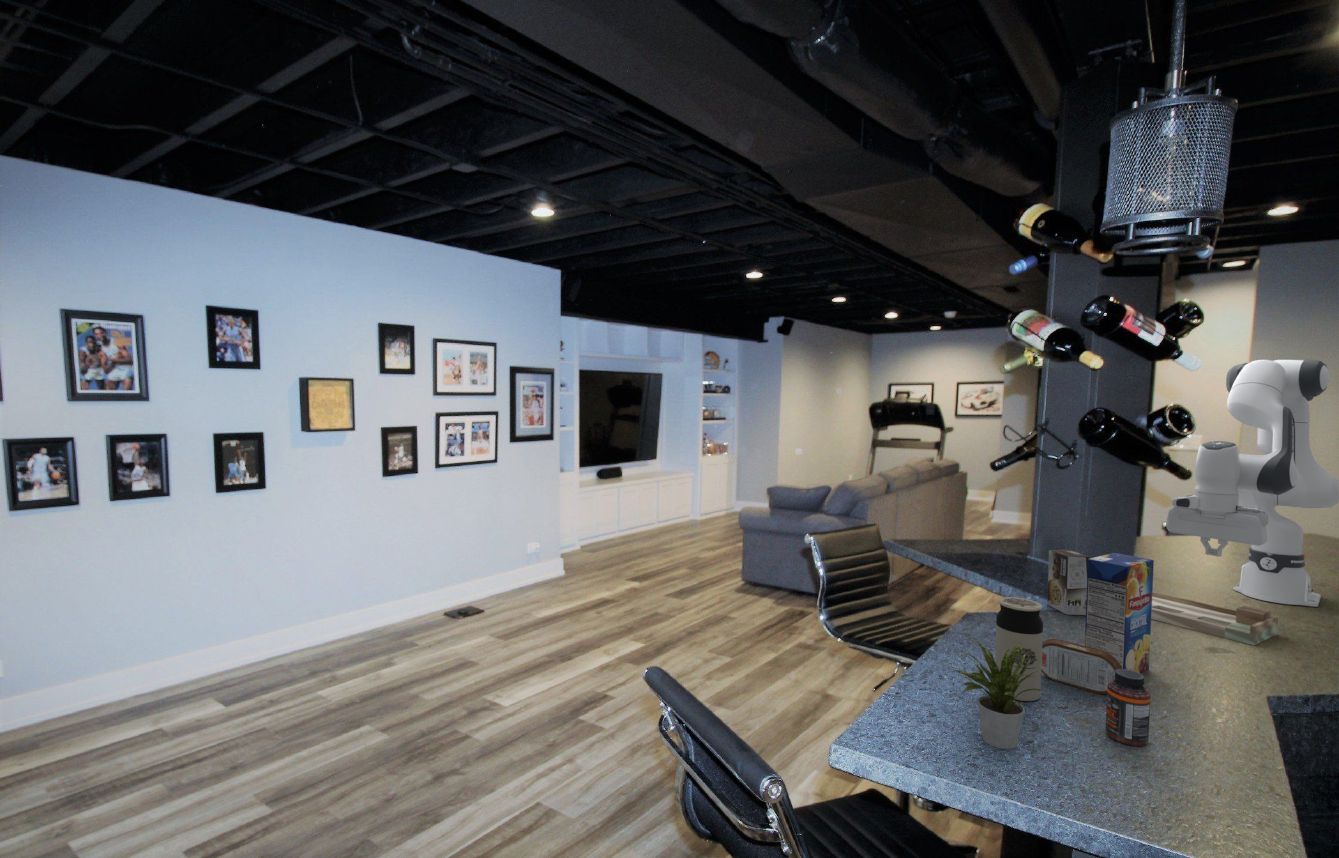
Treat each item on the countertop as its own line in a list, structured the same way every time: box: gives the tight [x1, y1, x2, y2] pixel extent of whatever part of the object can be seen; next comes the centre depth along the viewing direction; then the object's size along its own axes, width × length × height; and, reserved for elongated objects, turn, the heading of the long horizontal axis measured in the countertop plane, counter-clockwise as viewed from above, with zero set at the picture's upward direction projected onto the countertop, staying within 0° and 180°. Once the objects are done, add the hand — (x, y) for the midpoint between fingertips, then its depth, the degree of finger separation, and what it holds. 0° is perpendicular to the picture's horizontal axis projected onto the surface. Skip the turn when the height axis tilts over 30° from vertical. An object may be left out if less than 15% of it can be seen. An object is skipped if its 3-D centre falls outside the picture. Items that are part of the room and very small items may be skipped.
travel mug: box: [994, 596, 1044, 702], centre depth 122 cm, size 8×8×18 cm
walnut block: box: [1235, 605, 1271, 626], centre depth 157 cm, size 5×5×4 cm
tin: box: [1041, 638, 1122, 695], centre depth 126 cm, size 15×3×8 cm, turn 44°
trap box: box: [1151, 591, 1279, 646], centre depth 166 cm, size 15×29×4 cm, turn 30°
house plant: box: [952, 638, 1046, 750], centre depth 106 cm, size 14×14×16 cm
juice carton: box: [1084, 552, 1155, 675], centre depth 134 cm, size 12×8×24 cm, turn 122°
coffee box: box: [1047, 549, 1092, 616], centre depth 174 cm, size 9×6×16 cm
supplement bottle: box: [1105, 669, 1151, 747], centre depth 106 cm, size 6×6×11 cm
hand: (1213, 555), depth 165 cm, fingers closed
